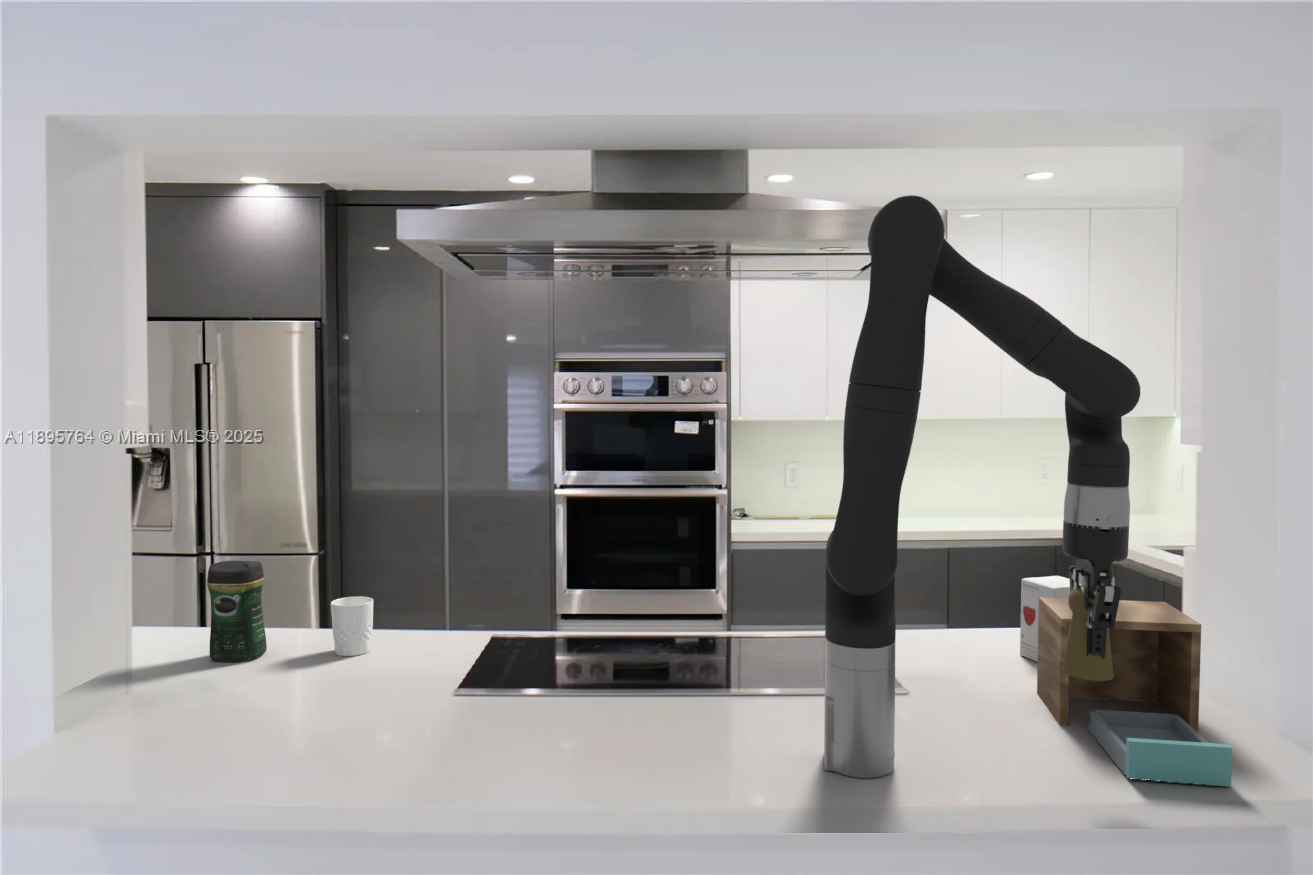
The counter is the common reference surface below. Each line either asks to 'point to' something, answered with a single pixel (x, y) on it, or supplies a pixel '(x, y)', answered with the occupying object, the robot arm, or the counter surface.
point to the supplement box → (1037, 608)
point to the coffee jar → (236, 610)
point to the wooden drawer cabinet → (1125, 659)
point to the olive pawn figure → (1084, 646)
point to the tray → (1160, 748)
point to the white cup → (352, 625)
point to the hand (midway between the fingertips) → (1090, 652)
